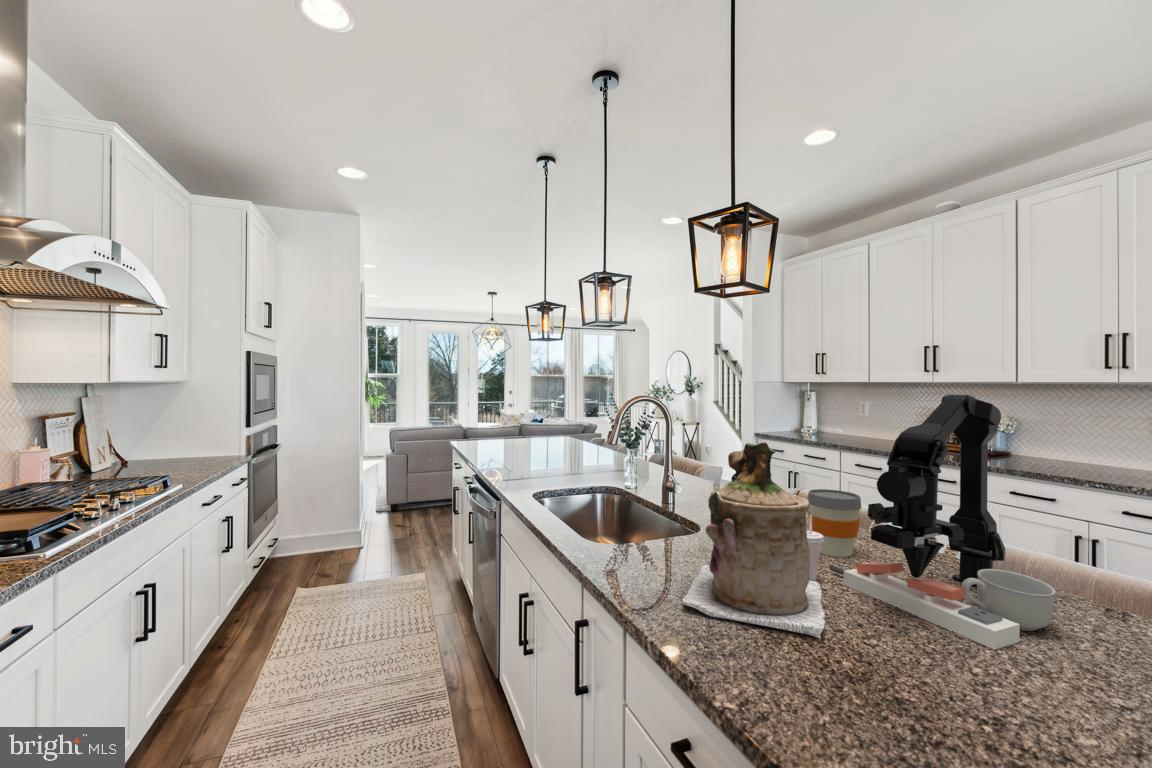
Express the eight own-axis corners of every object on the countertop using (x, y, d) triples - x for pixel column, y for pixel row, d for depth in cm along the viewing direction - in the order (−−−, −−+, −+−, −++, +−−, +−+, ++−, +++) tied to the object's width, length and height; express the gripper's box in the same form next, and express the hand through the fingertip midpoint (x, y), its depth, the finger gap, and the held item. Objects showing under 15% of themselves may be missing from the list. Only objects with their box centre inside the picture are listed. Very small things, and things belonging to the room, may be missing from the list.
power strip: (842, 570, 114) (842, 553, 115) (1019, 642, 83) (1019, 618, 83) (820, 574, 112) (820, 557, 112) (994, 649, 80) (994, 625, 80)
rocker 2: (919, 584, 97) (919, 575, 97) (964, 597, 89) (963, 588, 89) (907, 586, 95) (906, 577, 95) (951, 600, 88) (951, 591, 88)
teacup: (1034, 615, 93) (1035, 573, 93) (1070, 643, 83) (1070, 595, 83) (947, 603, 98) (947, 563, 98) (970, 628, 88) (971, 583, 88)
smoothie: (826, 584, 107) (827, 519, 107) (795, 581, 108) (796, 517, 108) (818, 573, 113) (819, 512, 113) (788, 570, 114) (789, 510, 114)
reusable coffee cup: (800, 542, 136) (801, 488, 136) (848, 545, 134) (849, 490, 134) (815, 558, 123) (816, 498, 123) (869, 561, 121) (870, 500, 121)
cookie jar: (822, 590, 104) (824, 438, 104) (826, 644, 81) (830, 451, 81) (703, 569, 114) (705, 431, 114) (678, 612, 92) (681, 441, 92)
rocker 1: (869, 570, 107) (867, 561, 107) (904, 571, 99) (901, 562, 100) (857, 572, 105) (855, 563, 106) (892, 573, 98) (889, 564, 99)
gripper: (909, 485, 106) (906, 557, 107) (847, 490, 99) (844, 566, 100) (967, 497, 96) (963, 577, 96) (901, 504, 89) (898, 589, 89)
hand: (915, 576), depth 96 cm, fingers closed
